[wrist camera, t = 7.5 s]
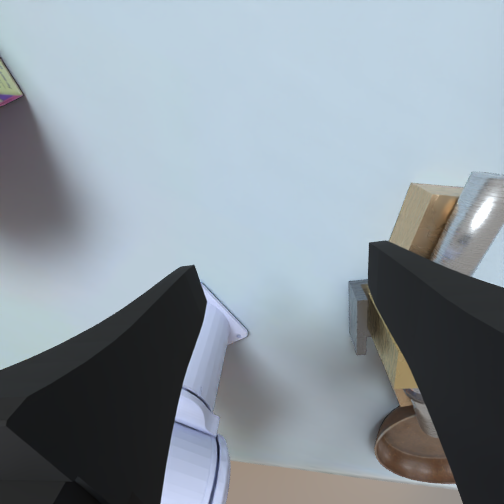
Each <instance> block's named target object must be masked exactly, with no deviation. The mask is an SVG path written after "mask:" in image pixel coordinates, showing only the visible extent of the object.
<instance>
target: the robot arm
mask: <svg viewBox="0 0 504 504" xmlns="http://www.w3.org/2000/svg"><path fill="white" fill-rule="evenodd" d="M368 287H369V290H370V293H371V295H372V298H373V300H374V303H375V305H376V308H377V310H378V311H379V313H380V315H381V317H382V319H383V320H384V322H385V324H386V326H387V328H388V329H389V331H390V333H391V335H392V337H393V338H394V340H395V342H396V344H397V345H398V347H399V349H400V351H401V353H402V354H403V356H404V358H405V360H406V362H407V364H408V366H409V368H410V370H411V372H412V375H413V377H414V379H415V382H416V384H417V386H418V388H419V391H420V393H421V395H422V398H423V400H424V403H425V405H426V408H427V410H428V412H429V415H430V417H431V420H432V422H433V425H434V427H435V430H436V432H437V435H438V437H439V440H440V443H441V445H442V448H443V450H444V453H445V455H446V458H447V461H448V463H449V466H450V468H451V471H452V474H453V477H454V479H455V482H456V485H457V488H458V491H459V493H460V496H461V499H462V502H463V504H504V288H503V287H500V286H497V285H494V284H490V283H487V282H484V281H481V280H478V279H476V278H473V277H470V276H467V275H465V274H462V273H460V272H457V271H455V270H452V269H450V268H447V267H445V266H442V265H440V264H438V263H435V262H433V261H431V260H429V259H426V258H424V257H422V256H420V255H418V254H415V253H413V252H411V251H409V250H407V249H405V248H403V247H400V246H398V245H396V244H394V243H391V242H389V241H379V242H371V243H369V262H368ZM238 334H239V335H238ZM247 335H248V331H247V330H246V328H245V327H244V326H243V325H242V324H241V323H240V322H239V321H238V320H237V319H236V318H235V317H234V316H233V315H232V314H231V313H230V312H229V311H228V310H227V309H226V308H225V307H224V306H223V304H222V303H221V302H220V301H219V300H218V299H217V298H216V297H215V296H214V295H213V294H212V293H211V292H210V291H209V290H208V289H207V288H206V287H205V286H204V285H203V284H202V283H201V282H200V280H199V277H198V274H197V271H196V268H195V266H194V265H190V266H182V267H180V268H178V269H176V270H175V271H173V272H172V273H171V274H169V275H168V276H166V277H165V278H164V279H162V280H161V281H160V282H159V283H157V284H156V285H155V286H153V287H152V288H151V289H149V290H148V291H147V292H145V293H144V294H143V295H141V296H140V297H138V298H137V299H135V300H134V301H133V302H131V303H130V304H128V305H127V306H126V307H124V308H123V309H121V310H120V311H118V312H117V313H115V314H113V315H112V316H110V317H109V318H107V319H105V320H104V321H102V322H100V323H99V324H97V325H95V326H93V327H92V328H90V329H88V330H86V331H84V332H82V333H80V334H79V335H77V336H75V337H73V338H71V339H69V340H67V341H65V342H63V343H61V344H59V345H57V346H55V347H53V348H51V349H49V350H47V351H44V352H42V353H40V354H38V355H36V356H33V357H31V358H29V359H27V360H24V361H22V362H19V363H17V364H15V365H12V366H10V367H7V368H5V369H2V370H0V504H226V500H227V495H228V489H229V482H230V456H229V452H228V447H227V443H226V440H225V438H224V437H223V436H222V435H220V434H217V431H218V426H219V420H220V417H219V416H217V415H215V414H213V409H214V405H215V400H216V395H217V390H218V385H219V381H220V376H221V371H222V366H223V362H224V357H225V352H226V347H227V345H229V344H232V343H234V342H236V341H238V340H240V339H243V338H245V337H246V336H247Z"/></svg>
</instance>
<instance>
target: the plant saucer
mask: <svg viewBox="0 0 504 504" xmlns="http://www.w3.org/2000/svg"><path fill="white" fill-rule="evenodd" d="M375 455H376V458H377V459H378V461H379V462H380V464H381V465H382V466H383V467H385V468H386V469H388V470H389V471H391V472H393V473H395V474H397V475H399V476H402V477H405V478H408V479H412V480H417V481H422V482H428V483H441V484H456V482H455V479H454V477H453V474H452V471H451V468H450V466H449V463H448V461H447V458H446V455H445V453H444V450H443V448H442V445H441V443H440V440H439V438H434V437H431V436H429V435H427V434H426V433H425V432H423V430H422V429H421V428H420V426H419V423H418V420H417V417H416V414H415V411H414V408H413V405H410V406H404V407H400V406H399V407H398V408H396V409H395V410H393V411H392V412H391V413H390V414H389V415H388V416H387V417H386V419H385V420H384V422H383V424H382V426H381V428H380V430H379V433H378V435H377V438H376V443H375Z"/></svg>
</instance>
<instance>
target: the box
mask: <svg viewBox="0 0 504 504" xmlns="http://www.w3.org/2000/svg"><path fill="white" fill-rule="evenodd" d="M22 96H23V94H22V92H21V90H20V89H19V87H18V86H17V84H16V82H15V81H14V79H13V78H12V76H11V74H10V73H9V71H8V70H7V68H6V67H5V65H4V63H3V62H2V60H1V59H0V106H3V105H5V104H7V103H9V102H11V101H13V100H15V99H17V98H20V97H22Z"/></svg>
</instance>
